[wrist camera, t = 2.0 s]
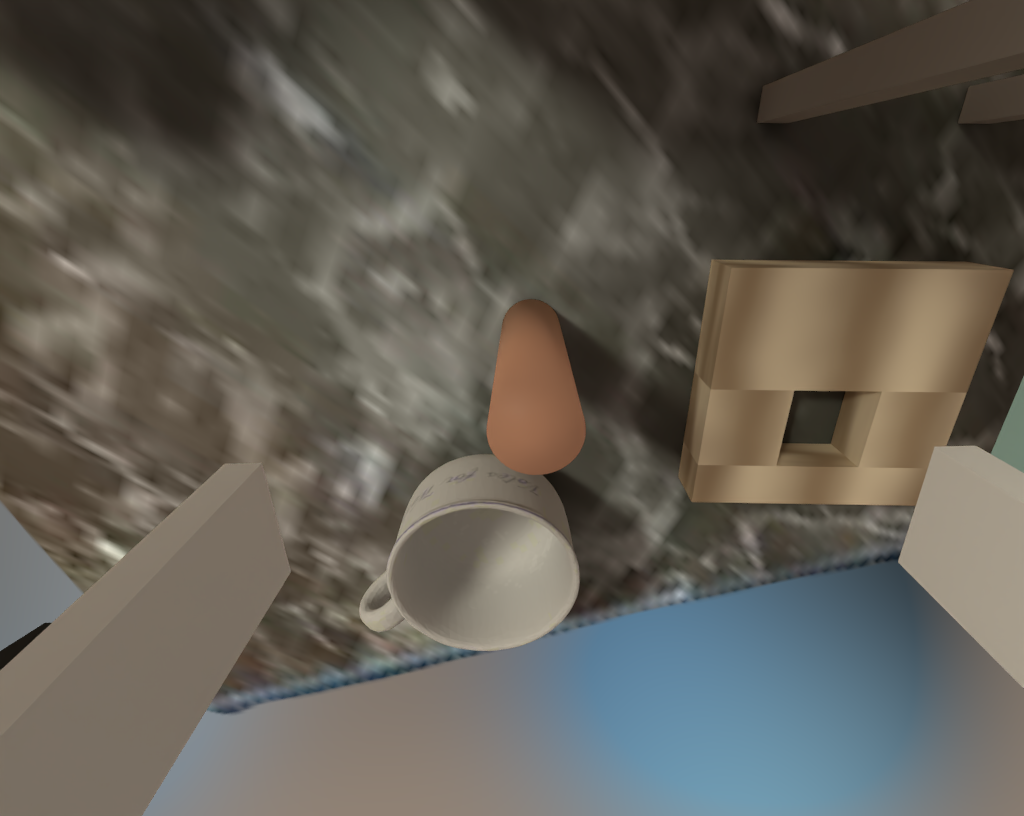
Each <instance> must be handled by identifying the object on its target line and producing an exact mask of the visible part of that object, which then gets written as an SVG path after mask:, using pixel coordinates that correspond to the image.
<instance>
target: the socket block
mask: <svg viewBox="0 0 1024 816" xmlns="http://www.w3.org/2000/svg"><path fill="white" fill-rule="evenodd" d="M1013 271H1014V270H1012V269H1006V268H1000V267H995V266H989V265H983V264H977V263H972V262H950V261H822V260H712V261H711V267H710V274H709V280H708V286H707V293H706V299H705V306H704V312H703V319H702V325H701V332H700V338H699V345H698V351H697V358H696V364H695V371H694V377H693V384H692V390H691V397H690V403H689V410H688V416H687V423H686V429H685V435H684V442H683V448H682V455H681V461H680V468H679V474H678V477H679V479H680V481H681V483H682V485H683V487H684V489H685V490H686V492H687V494H688V496H689V498H690V500H691V502H721V503H783V504H845V505H906V506H916V504H917V501H918V497H919V494H920V491H921V488H922V485H923V482H924V479H925V475H926V472H927V469H928V466H929V463H930V460H931V456H932V453H933V450H934V447H941V446H946V445H947V443H948V440H949V438H950V435H951V432H952V430H953V427H954V425H955V422H956V419H957V417H958V414H959V412H960V409H961V406H962V404H963V401H964V399H965V396H966V393H967V391H968V388H969V386H970V383H971V380H972V378H973V375H974V372H975V370H976V367H977V365H978V362H979V359H980V357H981V354H982V352H983V349H984V346H985V344H986V341H987V339H988V336H989V333H990V331H991V328H992V326H993V323H994V320H995V318H996V315H997V313H998V310H999V307H1000V305H1001V302H1002V300H1003V297H1004V294H1005V292H1006V289H1007V287H1008V284H1009V281H1010V279H1011V276H1012V274H1013ZM794 391H845V395H844V398H843V402H842V405H841V409H840V412H839V416H838V420H837V423H836V427H835V430H834V434H833V437H832V441H831V444H807V443H782V440H783V436H784V432H785V428H786V423H787V419H788V415H789V411H790V407H791V403H792V398H793V394H794Z"/></svg>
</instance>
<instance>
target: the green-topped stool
mask: <svg viewBox="0 0 1024 816" xmlns="http://www.w3.org/2000/svg"><path fill="white" fill-rule="evenodd" d="M1020 69H1024V0H971V1H968V2H966V3H964V4H961V5H959V6H956V7H954V8H951V9H949V10H947V11H944V12H942V13H939V14H937V15H934V16H932V17H930V18H927V19H925V20H922V21H920V22H917V23H915V24H913V25H910V26H908V27H905V28H903V29H900V30H898V31H896V32H893V33H891V34H888V35H886V36H883V37H881V38H879V39H876V40H874V41H871V42H869V43H866V44H864V45H862V46H859V47H857V48H854V49H852V50H849V51H847V52H845V53H842V54H840V55H837V56H835V57H832V58H830V59H828V60H825V61H823V62H820V63H818V64H815V65H813V66H811V67H808V68H806V69H803V70H801V71H798V72H796V73H794V74H791V75H789V76H786V77H784V78H781V79H779V80H777V81H774V82H772V83H769V84H767V85H764V86H763V89H762V95H761V101H760V106H759V112H758V118H757V123H791V122H796V121H800V120H804V119H809V118H813V117H817V116H822V115H826V114H830V113H834V112H839V111H843V110H847V109H852V108H856V107H860V106H865V105H869V104H873V103H878V102H882V101H886V100H890V99H895V98H899V97H903V96H908V95H912V94H916V93H921V92H925V91H929V90H934V89H938V88H942V87H946V86H951V85H955V84H959V83H964V82H968V81H972V80H977V79H981V78H985V77H990V76H994V75H998V74H1003V73H1007V72H1011V71H1015V70H1020ZM1023 119H1024V74H1023V75H1019V76H1014V77H1010V78H1005V79H1001V80H996V81H992V82H987V83H983V84H978V85H973V86H969V88H968V91H967V94H966V98H965V101H964V104H963V107H962V111H961V114H960V117H959V120H958V124H992V123H1000V122H1007V121H1015V120H1023ZM991 455H993V456H995V457H997V458H998V459H1000V460H1002V461H1004V462H1005V463H1007V464H1009V465H1011V466H1012V467H1014V468H1016V469H1018V470H1019V471H1021V472H1023V473H1024V377H1023V379H1022V382H1021V384H1020V386H1019V389H1018V391H1017V393H1016V396H1015V398H1014V400H1013V403H1012V405H1011V407H1010V410H1009V412H1008V414H1007V417H1006V419H1005V422H1004V424H1003V426H1002V429H1001V431H1000V433H999V436H998V438H997V440H996V443H995V445H994V447H993V450H992V452H991Z"/></svg>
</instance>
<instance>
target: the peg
mask: <svg viewBox="0 0 1024 816" xmlns="http://www.w3.org/2000/svg"><path fill="white" fill-rule="evenodd" d="M585 435H586V425H585V420H584V416H583V412H582V408H581V404H580V400H579V396H578V393H577V389H576V385H575V381H574V377H573V373H572V369H571V366H570V362H569V358H568V354H567V350H566V346H565V342H564V338H563V335H562V331H561V327H560V323H559V319H558V317H557V314H556V313H555V311H554V310H553V309H552V308H551V307H550V306H549V305H548V304H546V303H544V302H542V301H540V300H535V299H527V300H523V301H520V302H518V303H516V304H514V305H513V306H512V307H511V308H510V309H509V310H508V311H507V313H506V315H505V317H504V319H503V324H502V330H501V337H500V343H499V350H498V356H497V363H496V370H495V376H494V383H493V389H492V396H491V402H490V409H489V415H488V422H487V439H488V443H489V446H490V448H491V450H492V452H493V453H494V455H495V456H496V457H497V459H498V460H499V461H500V462H501V463H503V464H504V465H505V466H507V467H508V468H510V469H512V470H514V471H517V472H520V473H523V474H528V475H543V474H549V473H552V472H555V471H558V470H560V469H562V468H563V467H565V466H566V465H568V464H569V463H570V462H571V461H573V460H574V459H575V457H576V456H577V455H578V453H579V452H580V450H581V448H582V446H583V444H584V440H585Z"/></svg>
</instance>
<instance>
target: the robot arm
mask: <svg viewBox="0 0 1024 816" xmlns="http://www.w3.org/2000/svg"><path fill="white" fill-rule="evenodd" d="M898 563H899V564H900V565H901V566H902V567H903V568H904V569H906V570H907V572H908V573H909V574H911V576H912V577H913V578H914V579H915V580H916V581H917V582H918V583H919V584H920V585H921V586H922V587H923V588H924V589H925V590H926V591H927V592H928V593H929V594H930V595H931V596H932V597H933V598H934V599H935V600H936V601H937V602H938V603H939V604H940V605H941V606H942V607H943V608H944V609H945V610H946V611H947V612H948V613H949V614H950V615H951V616H952V617H953V618H954V619H955V620H956V621H957V622H958V623H959V624H960V625H961V626H962V627H963V628H964V629H965V630H966V631H967V632H968V633H969V634H970V635H971V636H972V637H973V638H974V639H975V640H976V641H977V642H978V643H979V644H980V645H981V646H982V647H983V648H984V649H985V650H986V651H987V652H988V653H989V654H990V655H991V656H992V657H993V658H994V659H995V660H996V661H997V662H998V663H999V664H1000V665H1001V666H1002V667H1003V668H1004V669H1005V670H1006V671H1007V672H1008V673H1009V674H1010V675H1011V676H1012V677H1013V678H1014V679H1015V680H1016V681H1017V682H1018V683H1019V684H1020V686H1021V687H1023V688H1024V473H1023V472H1021V471H1019V470H1018V469H1016V468H1014V467H1012V466H1011V465H1009V464H1007V463H1005V462H1004V461H1002V460H1000V459H998V458H997V457H995V456H993V455H991V454H990V453H988V452H986V451H984V450H983V449H981V448H979V447H977V446H941V447H934V450H933V453H932V456H931V460H930V463H929V466H928V469H927V472H926V475H925V479H924V482H923V485H922V488H921V491H920V494H919V497H918V501H917V504H916V507H915V510H914V513H913V516H912V520H911V523H910V526H909V529H908V532H907V535H906V538H905V542H904V545H903V548H902V551H901V554H900V557H899V560H898ZM290 572H291V570H290V567H289V563H288V559H287V555H286V552H285V548H284V544H283V540H282V536H281V533H280V529H279V525H278V521H277V517H276V514H275V510H274V506H273V502H272V499H271V495H270V491H269V487H268V483H267V480H266V476H265V472H264V468H263V465H262V463H239V464H224V465H223V466H222V467H221V468H220V469H219V470H218V471H217V472H215V473H214V474H213V475H212V476H211V477H210V478H209V479H208V480H207V481H206V482H205V483H203V484H202V485H201V486H200V487H199V488H198V489H197V490H196V491H195V492H194V493H193V494H192V495H190V496H189V497H188V498H187V499H186V500H185V501H184V502H183V503H182V504H181V505H180V506H179V507H177V508H176V509H175V510H174V511H173V512H172V513H171V514H170V515H169V516H168V517H167V518H165V519H164V520H163V521H162V522H161V523H160V524H159V525H158V526H157V527H156V528H155V529H154V530H152V531H151V532H150V533H149V534H148V535H147V536H146V537H145V538H144V539H143V540H142V541H140V542H139V543H138V544H137V545H136V546H135V547H134V548H133V549H132V550H131V551H130V552H129V553H127V554H126V555H125V556H124V557H123V558H122V559H121V560H120V561H119V562H118V563H117V564H115V565H114V566H113V567H112V568H111V569H110V570H109V571H108V572H107V573H106V574H105V575H104V576H102V577H101V578H100V579H99V580H98V581H97V582H96V583H95V584H94V585H93V586H92V587H90V588H89V589H88V590H87V591H86V592H85V593H84V594H83V595H82V596H81V597H80V598H79V599H77V600H76V601H75V602H74V603H73V604H72V605H71V606H70V607H69V608H68V609H67V610H65V611H64V613H62V614H61V615H60V616H59V617H58V618H57V619H56V620H55V621H54V622H53V623H44V624H43V625H41V626H39V627H38V628H36V629H35V630H33V631H31V632H30V633H28V634H27V635H25V636H24V637H22V638H20V639H19V640H17V641H16V642H14V643H12V644H11V645H9V646H8V647H6V648H4V649H3V650H1V651H0V816H142V815H143V813H144V811H145V810H146V808H147V807H148V805H149V803H150V801H151V800H152V798H153V797H154V795H155V793H156V791H157V790H158V788H159V787H160V785H161V784H162V782H163V780H164V779H165V777H166V775H167V774H168V772H169V770H170V769H171V767H172V766H173V764H174V762H175V761H176V759H177V757H178V755H179V754H180V752H181V751H182V749H183V747H184V746H185V744H186V743H187V741H188V739H189V738H190V736H191V734H192V733H193V731H194V730H195V728H196V726H197V725H198V723H199V721H200V720H201V718H202V716H203V715H204V713H205V712H206V710H207V708H208V707H209V705H210V703H211V702H212V700H213V698H214V697H215V695H216V693H217V692H218V690H219V689H220V687H221V685H222V684H223V682H224V680H225V679H226V677H227V675H228V674H229V672H230V671H231V669H232V667H233V666H234V664H235V662H236V661H237V659H238V657H239V656H240V654H241V653H242V651H243V649H244V648H245V646H246V644H247V643H248V641H249V639H250V638H251V636H252V635H253V633H254V631H255V630H256V628H257V626H258V625H259V623H260V621H261V620H262V618H263V616H264V615H265V613H266V612H267V610H268V608H269V607H270V605H271V603H272V602H273V600H274V598H275V597H276V595H277V594H278V592H279V590H280V589H281V587H282V585H283V584H284V582H285V580H286V579H287V577H288V576H289V574H290Z"/></svg>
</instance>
